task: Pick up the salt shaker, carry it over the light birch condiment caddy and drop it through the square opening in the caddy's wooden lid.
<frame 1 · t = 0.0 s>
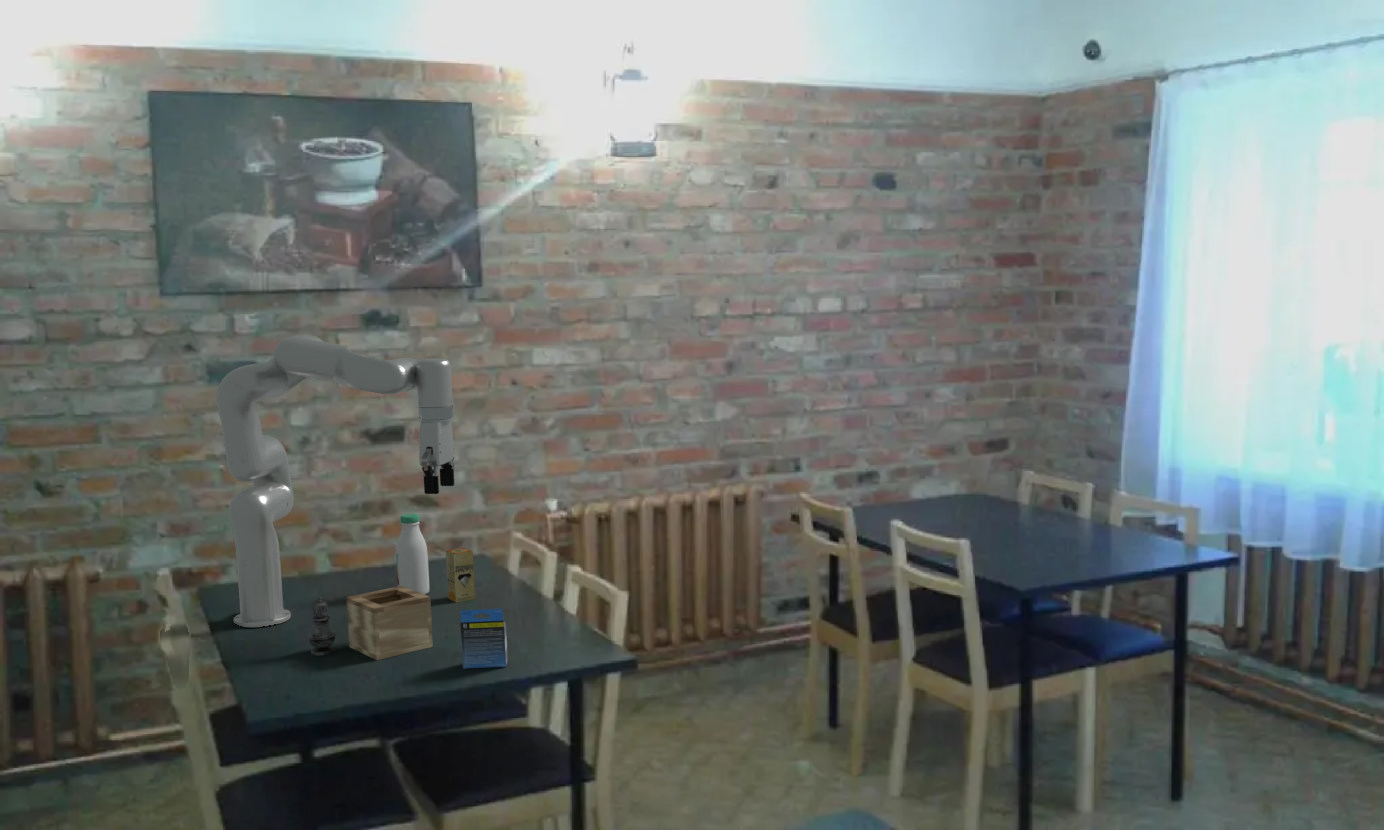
hand: (439, 489, 279), 31 cm above the table, tool pointing down, fingers open, 9 cm apart
milk bottle: (413, 594, 311), on the table
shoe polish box: (461, 599, 305), on the table
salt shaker: (323, 652, 265), on the table
caddy: (390, 646, 267), on the table
label tape cartridge: (485, 666, 253), on the table
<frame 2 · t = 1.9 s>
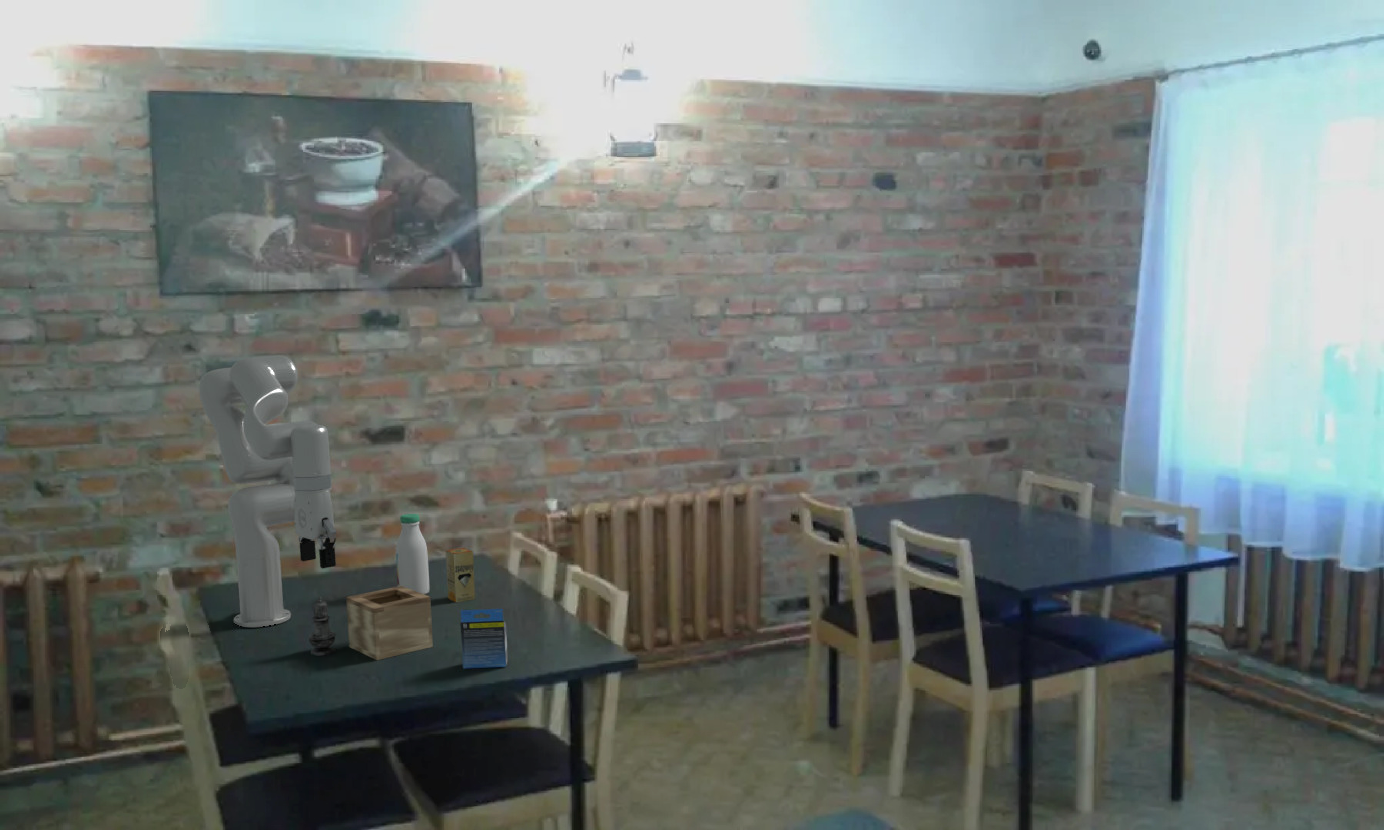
hand: (318, 563, 263), 19 cm above the table, tool pointing down, fingers open, 9 cm apart
nothing on the table moved.
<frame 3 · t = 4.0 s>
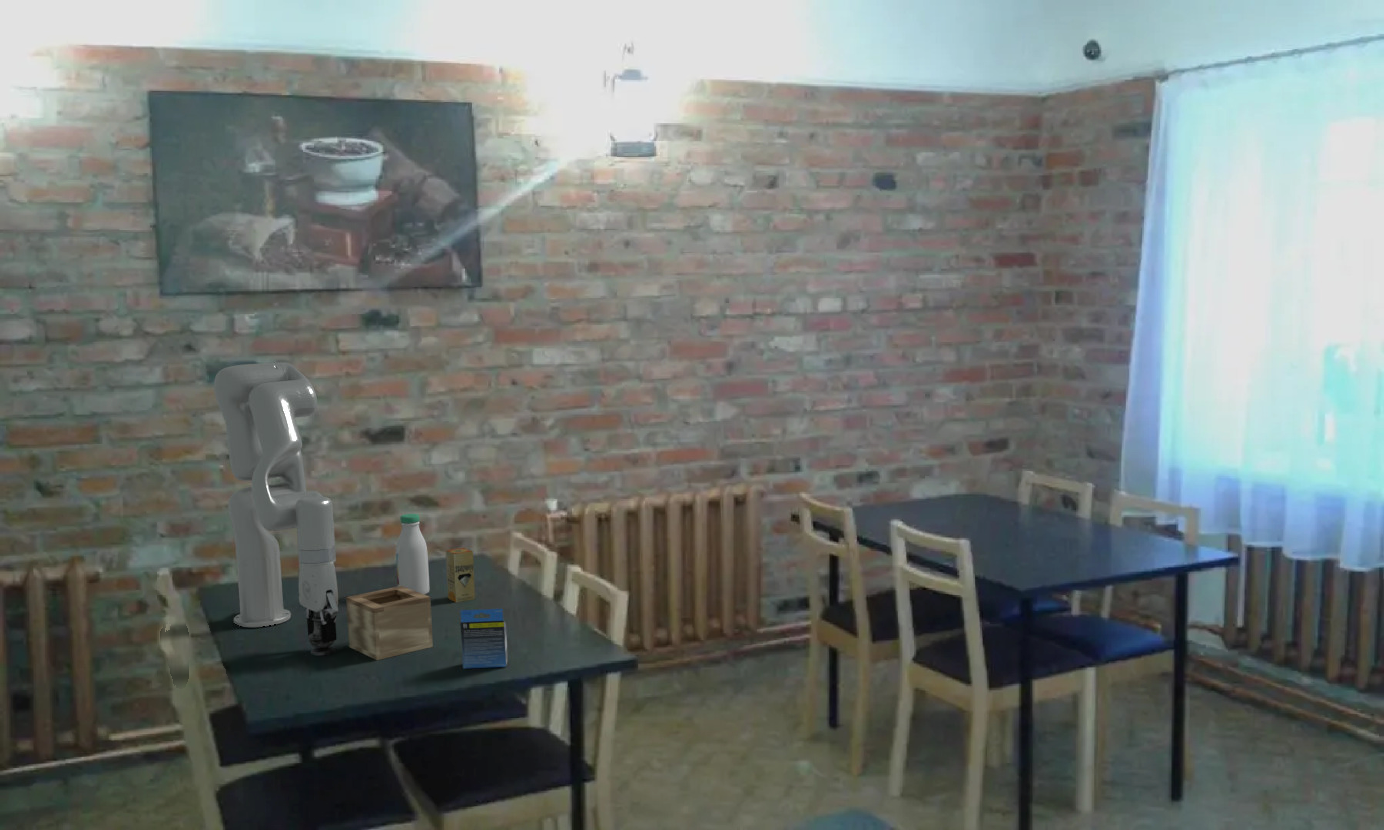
hand: (322, 637, 265), 3 cm above the table, tool pointing down, fingers closed on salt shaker, 5 cm apart
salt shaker: (323, 652, 265), on the table, touching gripper
everything else where it was.
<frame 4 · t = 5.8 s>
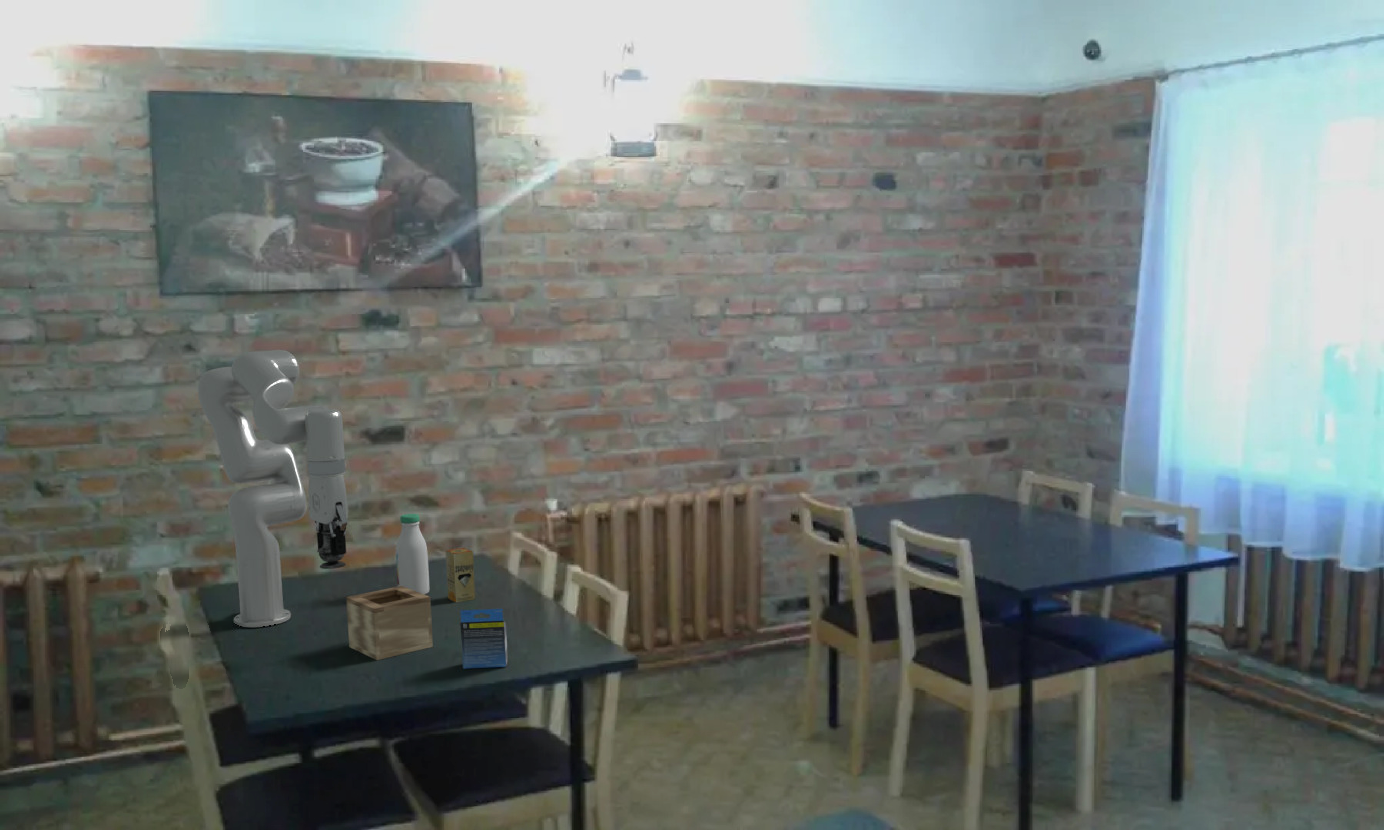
hand: (332, 551, 263), 22 cm above the table, tool pointing down, fingers closed on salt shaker, 5 cm apart
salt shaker: (332, 566, 263), point 18 cm above the table, touching gripper
everything else where it was.
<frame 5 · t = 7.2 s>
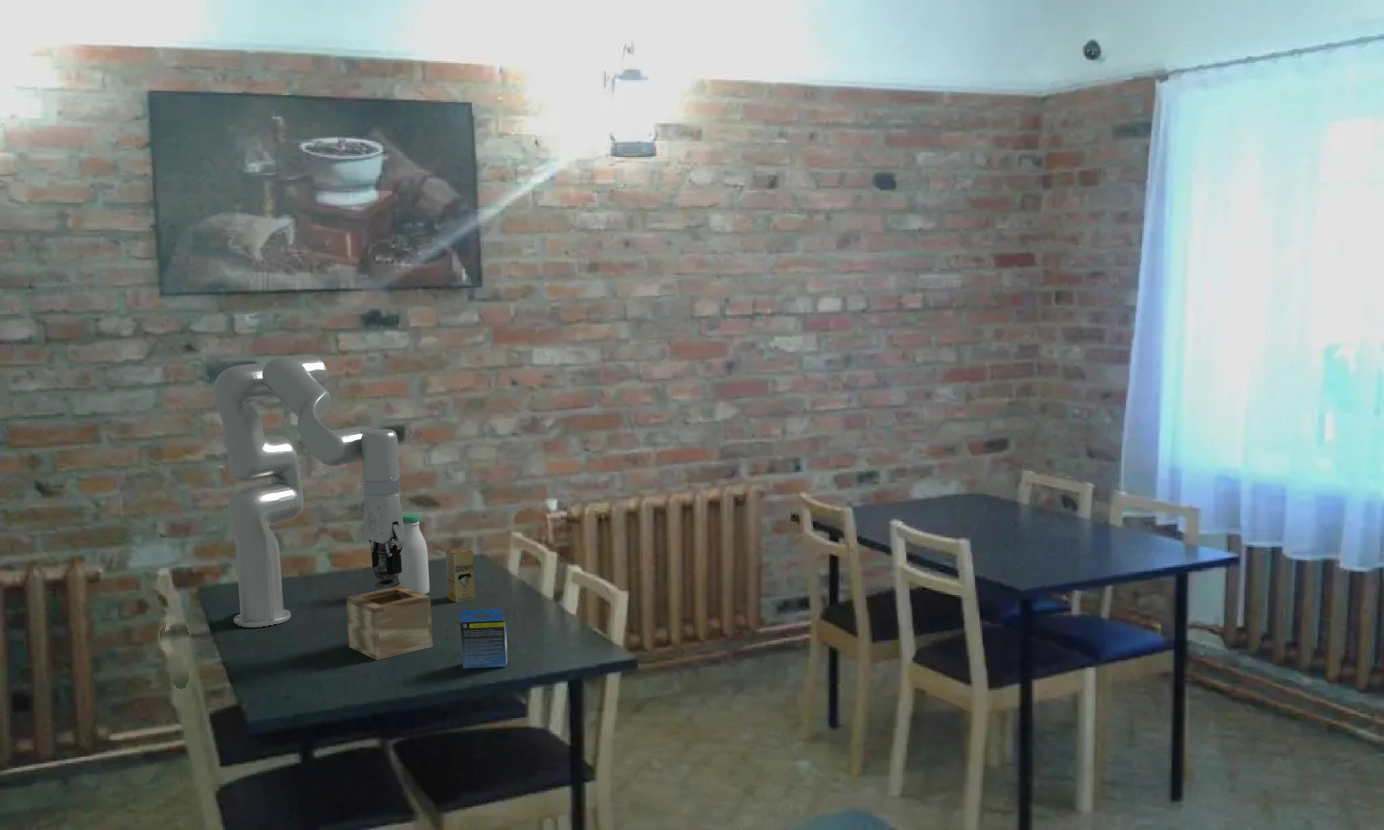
hand: (387, 570, 265), 17 cm above the table, tool pointing down, fingers closed on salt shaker, 5 cm apart
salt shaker: (387, 585, 265), point 14 cm above the table, touching gripper
everything else where it was.
when the fingers open (13 cm above the table, at t = 8.1 s): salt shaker drops 9 cm, resting on caddy.
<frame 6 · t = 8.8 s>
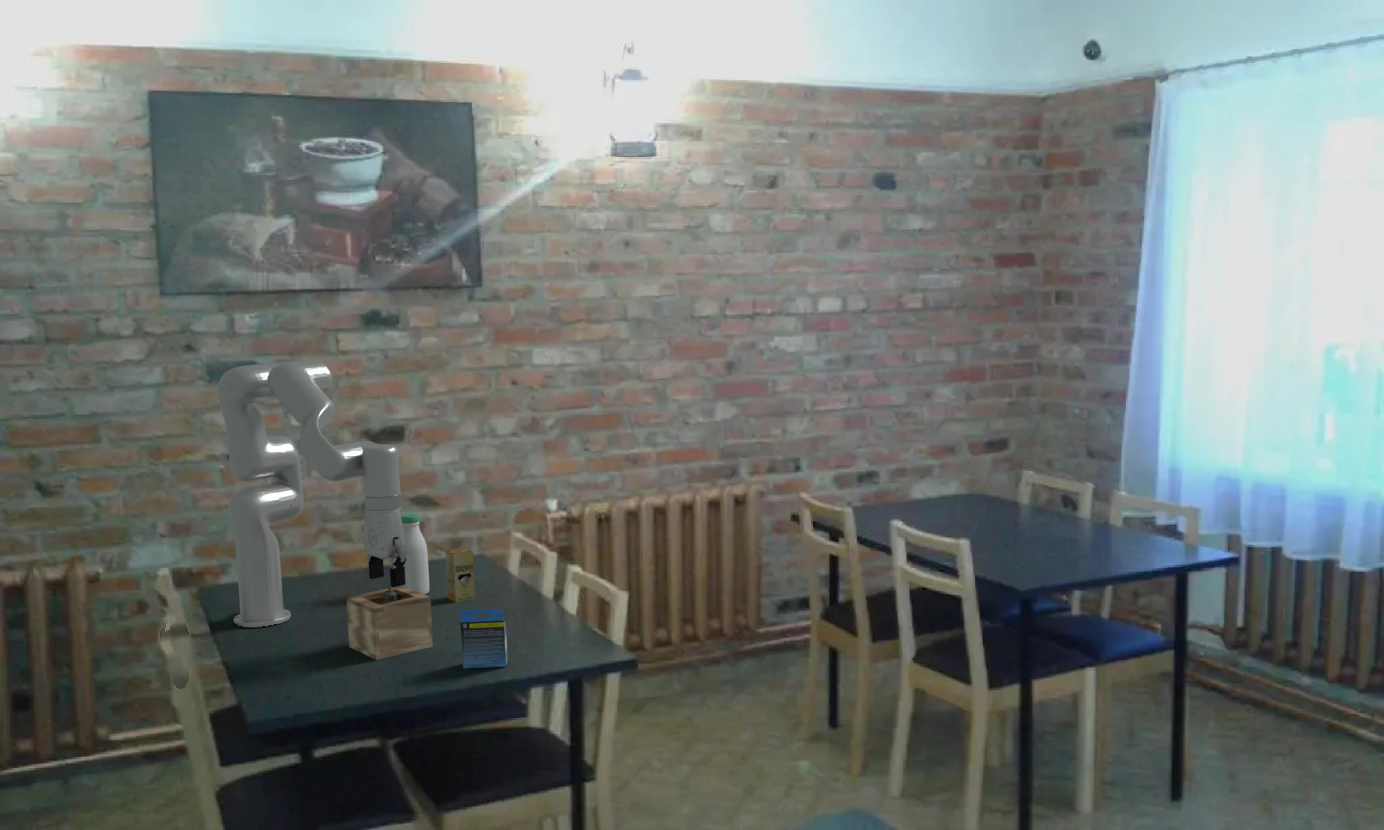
hand: (387, 581, 265), 14 cm above the table, tool pointing down, fingers open, 9 cm apart
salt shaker: (390, 642, 267), point 1 cm above the table, touching caddy
everything else where it was.
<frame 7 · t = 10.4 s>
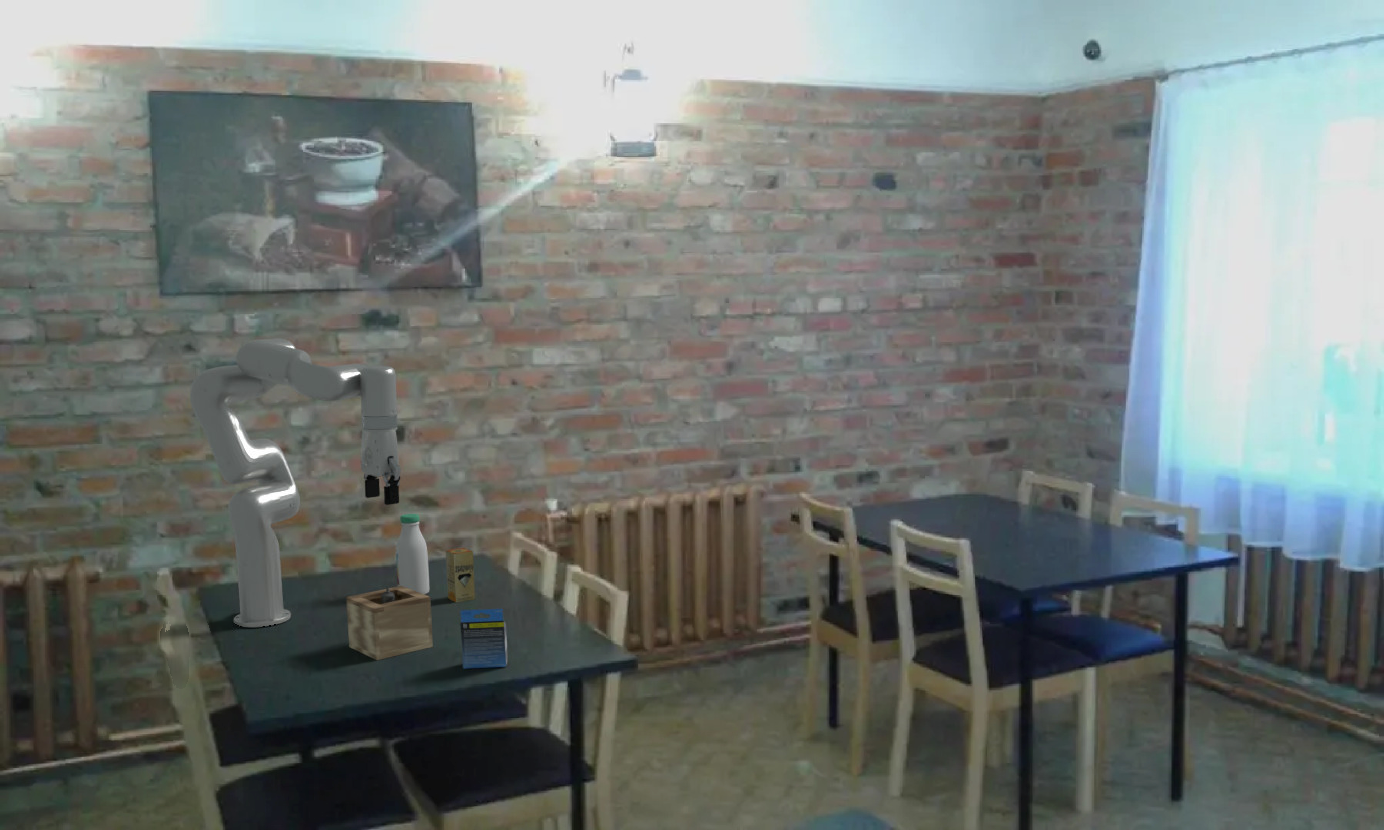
hand: (382, 500, 272), 30 cm above the table, tool pointing down, fingers open, 9 cm apart
nothing on the table moved.
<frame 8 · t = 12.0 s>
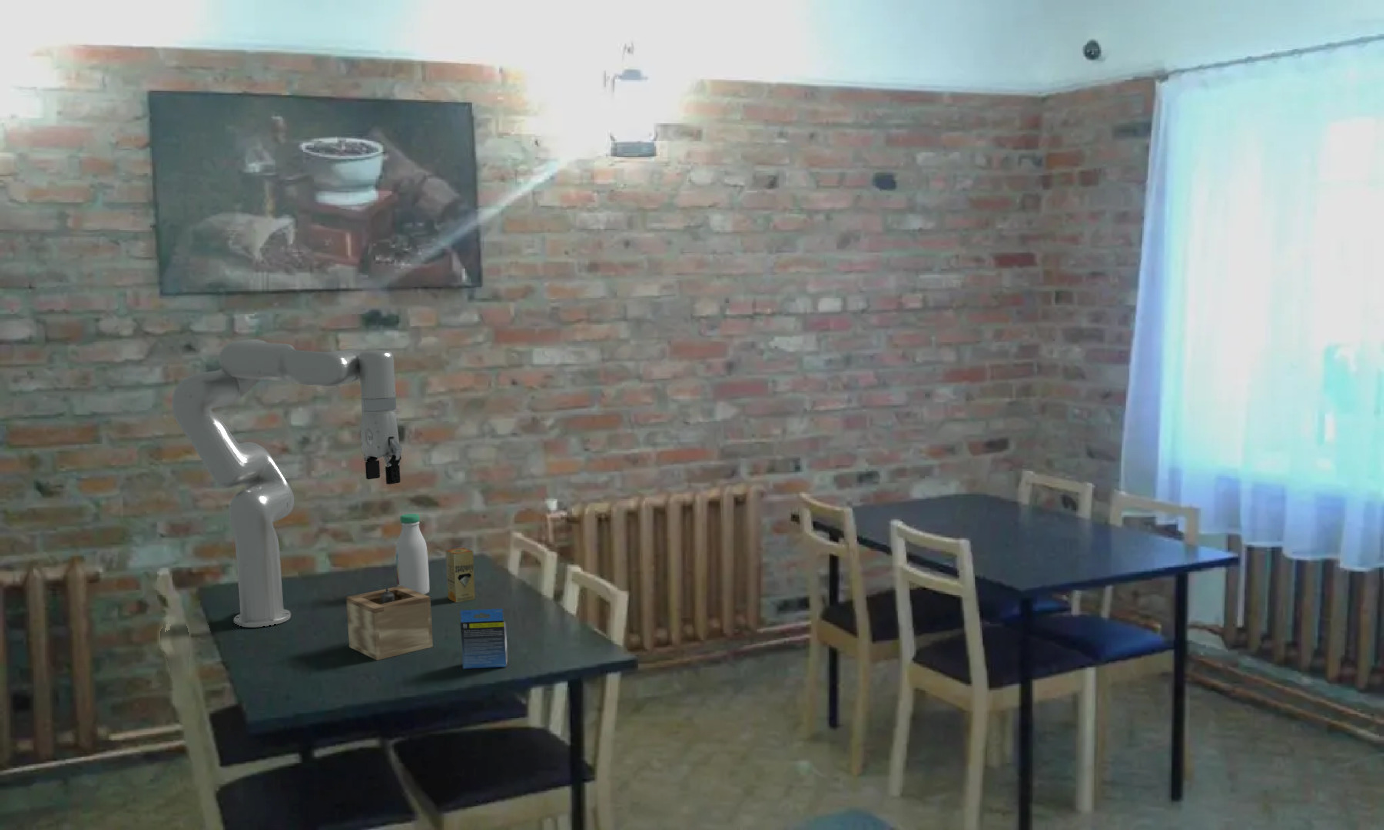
hand: (383, 480, 280), 33 cm above the table, tool pointing down, fingers open, 9 cm apart
nothing on the table moved.
at the end: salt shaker inside the target area on the caddy (0.1 cm from its centre), point 0.8 cm above the caddy's base; the gripper is holding nothing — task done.
